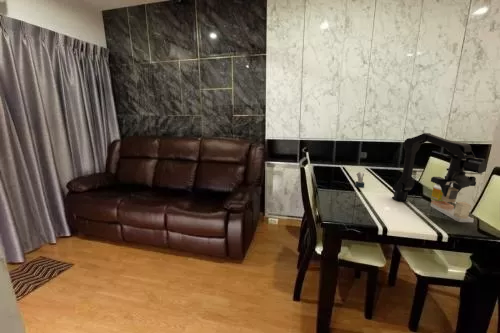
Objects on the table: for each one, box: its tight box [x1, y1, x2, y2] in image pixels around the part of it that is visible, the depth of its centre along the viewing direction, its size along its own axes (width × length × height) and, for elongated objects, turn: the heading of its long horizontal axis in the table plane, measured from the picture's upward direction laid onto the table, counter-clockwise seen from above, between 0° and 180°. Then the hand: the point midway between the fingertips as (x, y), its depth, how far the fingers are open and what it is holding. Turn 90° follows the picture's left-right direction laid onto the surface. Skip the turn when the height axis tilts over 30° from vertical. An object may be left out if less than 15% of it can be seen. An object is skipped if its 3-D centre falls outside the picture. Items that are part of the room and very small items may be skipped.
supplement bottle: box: [430, 184, 444, 202], centre depth 149 cm, size 7×7×13 cm
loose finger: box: [441, 186, 459, 203], centre depth 123 cm, size 4×5×7 cm
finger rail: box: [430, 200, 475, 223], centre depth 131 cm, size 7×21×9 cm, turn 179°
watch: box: [354, 171, 365, 189], centre depth 174 cm, size 6×8×11 cm
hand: (449, 196), depth 124 cm, fingers closed on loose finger, 4 cm apart
